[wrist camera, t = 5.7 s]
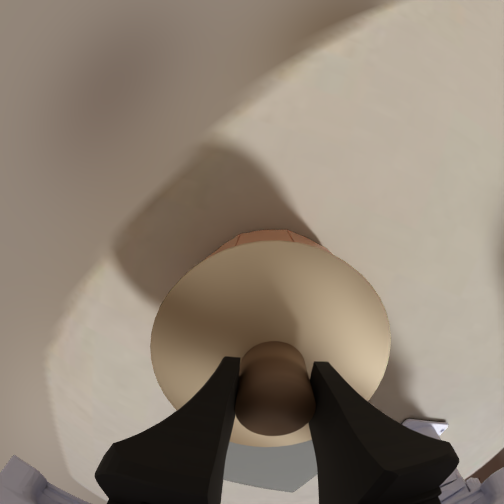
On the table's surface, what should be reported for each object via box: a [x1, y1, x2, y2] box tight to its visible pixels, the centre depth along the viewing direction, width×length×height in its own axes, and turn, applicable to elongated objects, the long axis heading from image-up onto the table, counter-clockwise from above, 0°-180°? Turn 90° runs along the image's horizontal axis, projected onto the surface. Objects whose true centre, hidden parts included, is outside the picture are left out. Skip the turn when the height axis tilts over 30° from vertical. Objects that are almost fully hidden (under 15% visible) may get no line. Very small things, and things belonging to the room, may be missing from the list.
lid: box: [150, 240, 391, 447], centre depth 11 cm, size 12×12×4 cm
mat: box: [223, 440, 318, 492], centre depth 21 cm, size 16×16×1 cm
